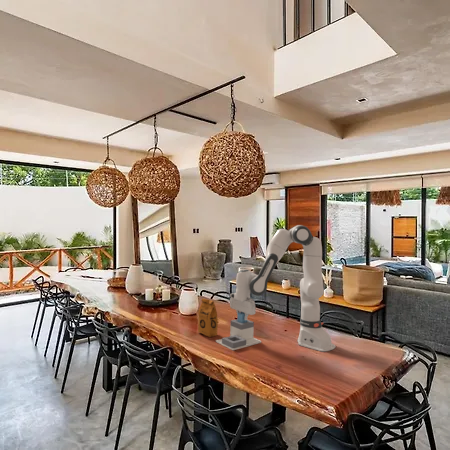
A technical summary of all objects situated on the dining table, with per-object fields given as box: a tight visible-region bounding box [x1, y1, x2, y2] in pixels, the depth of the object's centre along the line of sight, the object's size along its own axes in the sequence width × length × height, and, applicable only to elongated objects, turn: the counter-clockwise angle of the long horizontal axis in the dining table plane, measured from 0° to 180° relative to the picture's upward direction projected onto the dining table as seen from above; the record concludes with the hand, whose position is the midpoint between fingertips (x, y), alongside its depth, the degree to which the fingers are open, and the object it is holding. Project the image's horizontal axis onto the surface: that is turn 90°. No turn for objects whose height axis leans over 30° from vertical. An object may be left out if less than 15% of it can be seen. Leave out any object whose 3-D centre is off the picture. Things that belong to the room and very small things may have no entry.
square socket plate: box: [215, 319, 262, 351], centre depth 204 cm, size 16×22×11 cm
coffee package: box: [197, 298, 219, 338], centre depth 217 cm, size 10×12×22 cm
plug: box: [237, 311, 248, 323], centre depth 210 cm, size 4×4×9 cm
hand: (242, 318), depth 210 cm, fingers closed on plug, 4 cm apart
